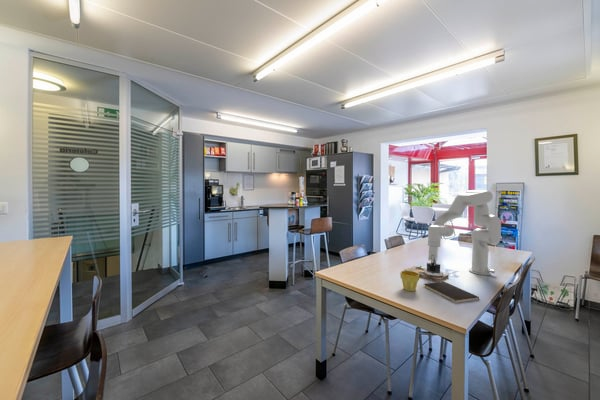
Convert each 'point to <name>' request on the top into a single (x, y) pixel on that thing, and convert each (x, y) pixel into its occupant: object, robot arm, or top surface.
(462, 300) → the hardcover book
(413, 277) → the plant pot
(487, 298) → the top surface
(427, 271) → the cam dial
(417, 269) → the levelling base
